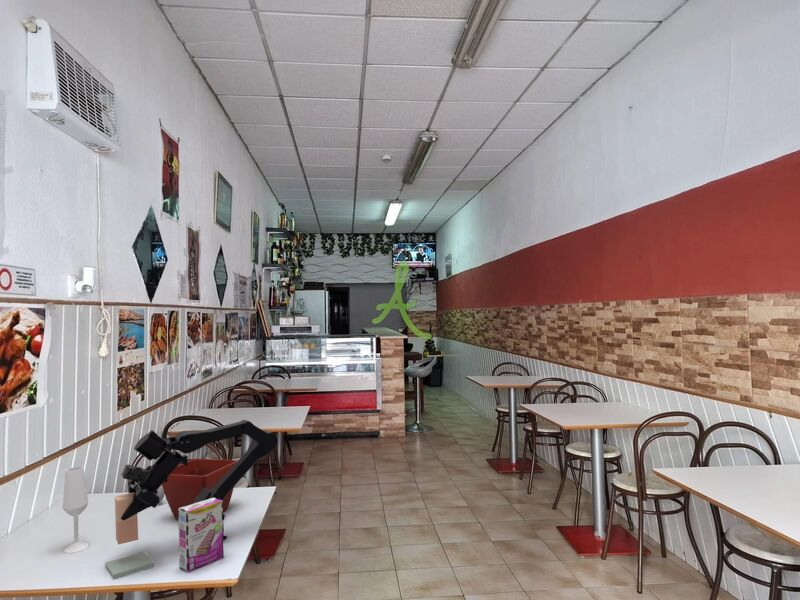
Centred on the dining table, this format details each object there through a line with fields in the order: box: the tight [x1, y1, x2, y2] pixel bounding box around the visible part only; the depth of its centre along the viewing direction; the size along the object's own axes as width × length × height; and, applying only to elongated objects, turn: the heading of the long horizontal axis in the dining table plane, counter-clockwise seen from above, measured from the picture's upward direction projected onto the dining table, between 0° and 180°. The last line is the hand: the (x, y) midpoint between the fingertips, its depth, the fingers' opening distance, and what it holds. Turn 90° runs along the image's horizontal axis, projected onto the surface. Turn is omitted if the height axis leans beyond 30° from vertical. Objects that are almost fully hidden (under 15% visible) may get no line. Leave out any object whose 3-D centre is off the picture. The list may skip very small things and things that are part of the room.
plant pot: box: [162, 458, 239, 521], centre depth 187 cm, size 19×19×17 cm
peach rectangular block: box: [114, 492, 139, 545], centre depth 151 cm, size 5×5×12 cm
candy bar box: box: [178, 498, 224, 573], centre depth 149 cm, size 11×5×16 cm, turn 141°
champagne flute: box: [62, 466, 90, 554], centre depth 163 cm, size 7×7×24 cm
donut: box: [157, 485, 165, 504], centre depth 201 cm, size 10×4×10 cm, turn 53°
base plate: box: [104, 551, 155, 580], centre depth 148 cm, size 10×10×1 cm
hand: (120, 516), depth 150 cm, fingers closed on peach rectangular block, 5 cm apart
